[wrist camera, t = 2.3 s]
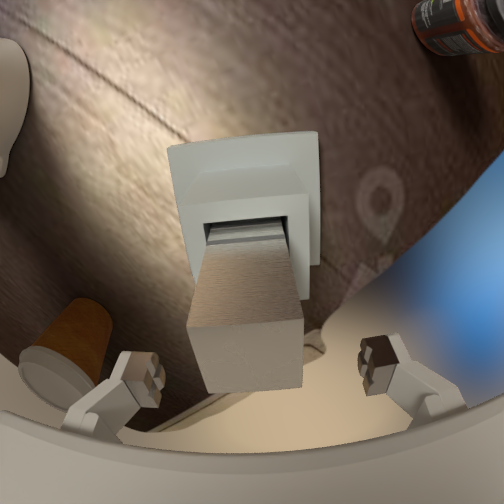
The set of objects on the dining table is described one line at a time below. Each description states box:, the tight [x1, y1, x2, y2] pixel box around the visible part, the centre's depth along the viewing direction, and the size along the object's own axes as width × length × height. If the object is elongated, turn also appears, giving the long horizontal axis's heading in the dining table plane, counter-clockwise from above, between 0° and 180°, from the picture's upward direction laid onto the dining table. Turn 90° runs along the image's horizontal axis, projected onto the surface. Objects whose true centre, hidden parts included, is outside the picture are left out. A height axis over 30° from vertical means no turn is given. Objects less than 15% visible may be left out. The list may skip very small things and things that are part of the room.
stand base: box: [167, 131, 320, 300], centre depth 22 cm, size 12×12×10 cm
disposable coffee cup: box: [18, 298, 113, 413], centre depth 27 cm, size 10×10×12 cm
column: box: [186, 216, 304, 393], centre depth 18 cm, size 4×4×16 cm
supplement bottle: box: [411, 0, 504, 56], centre depth 13 cm, size 6×6×11 cm
